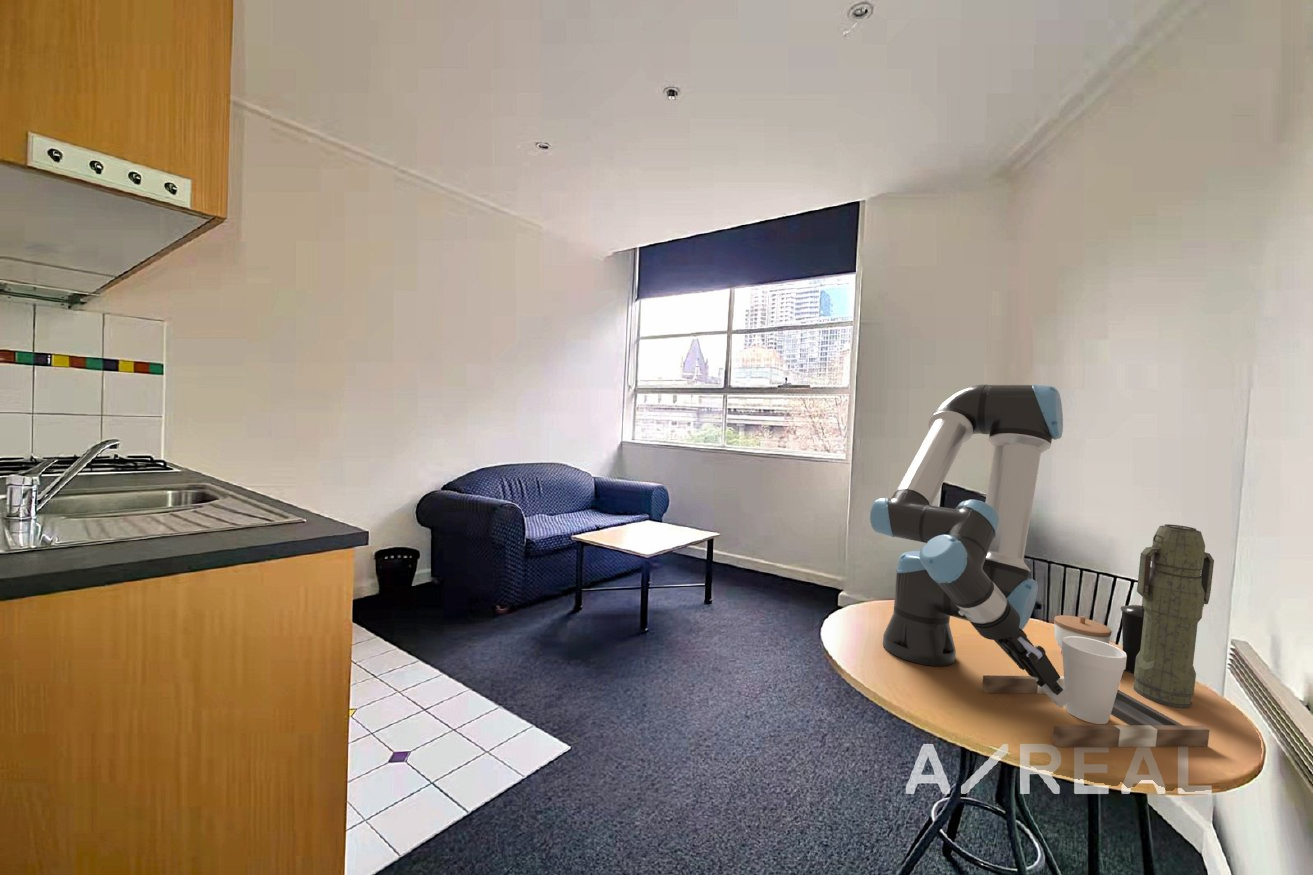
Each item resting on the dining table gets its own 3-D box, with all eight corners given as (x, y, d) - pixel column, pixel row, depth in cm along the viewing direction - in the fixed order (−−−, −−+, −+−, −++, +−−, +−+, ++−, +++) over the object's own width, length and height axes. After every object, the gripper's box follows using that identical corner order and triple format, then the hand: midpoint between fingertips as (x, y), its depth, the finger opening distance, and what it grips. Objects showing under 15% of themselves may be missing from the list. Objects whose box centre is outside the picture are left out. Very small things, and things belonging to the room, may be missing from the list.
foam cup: (1102, 733, 95) (1109, 661, 95) (1045, 706, 103) (1051, 639, 103) (1129, 722, 99) (1136, 653, 99) (1072, 697, 108) (1079, 633, 107)
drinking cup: (1107, 666, 124) (1116, 579, 123) (1126, 661, 127) (1135, 577, 126) (1148, 682, 117) (1157, 590, 116) (1167, 677, 120) (1177, 588, 119)
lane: (1058, 747, 90) (1060, 729, 90) (981, 689, 109) (983, 675, 108) (1207, 746, 93) (1209, 729, 93) (1108, 691, 111) (1109, 676, 111)
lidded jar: (1087, 648, 134) (1091, 610, 133) (1120, 668, 123) (1124, 627, 122) (1041, 643, 135) (1045, 606, 134) (1069, 663, 124) (1073, 623, 123)
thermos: (1114, 682, 115) (1131, 520, 114) (1172, 688, 115) (1190, 524, 113) (1149, 705, 107) (1167, 529, 105) (1212, 711, 106) (1233, 533, 104)
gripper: (949, 610, 104) (1021, 696, 106) (998, 638, 91) (1079, 735, 93) (977, 583, 104) (1049, 670, 107) (1030, 608, 91) (1110, 706, 94)
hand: (1063, 700), depth 100 cm, fingers closed
